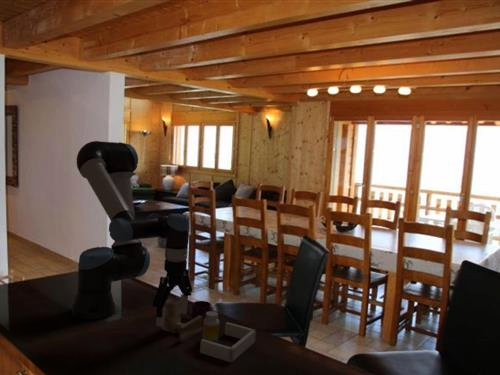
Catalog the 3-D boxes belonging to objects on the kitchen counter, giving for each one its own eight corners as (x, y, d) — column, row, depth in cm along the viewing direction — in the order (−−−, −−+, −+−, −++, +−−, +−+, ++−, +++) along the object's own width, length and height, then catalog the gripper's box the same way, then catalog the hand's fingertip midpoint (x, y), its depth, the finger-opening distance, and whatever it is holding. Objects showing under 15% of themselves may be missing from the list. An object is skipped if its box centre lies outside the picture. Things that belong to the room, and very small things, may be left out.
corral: (199, 352, 136) (200, 340, 135) (226, 333, 151) (227, 322, 151) (231, 362, 131) (232, 350, 131) (255, 341, 147) (256, 330, 146)
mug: (201, 327, 155) (202, 308, 154) (180, 319, 160) (182, 301, 160) (213, 322, 160) (214, 304, 160) (193, 314, 166) (194, 297, 165)
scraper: (154, 334, 146) (156, 305, 145) (175, 322, 157) (177, 295, 156) (182, 342, 141) (184, 313, 141) (202, 330, 152) (204, 302, 151)
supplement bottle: (199, 338, 145) (201, 311, 144) (214, 336, 148) (216, 309, 147) (205, 345, 140) (207, 317, 140) (220, 343, 143) (222, 315, 142)
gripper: (162, 269, 135) (158, 334, 137) (204, 254, 158) (200, 310, 160) (143, 264, 139) (139, 328, 140) (187, 250, 161) (183, 306, 163)
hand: (172, 319), depth 150 cm, fingers open, 13 cm apart
